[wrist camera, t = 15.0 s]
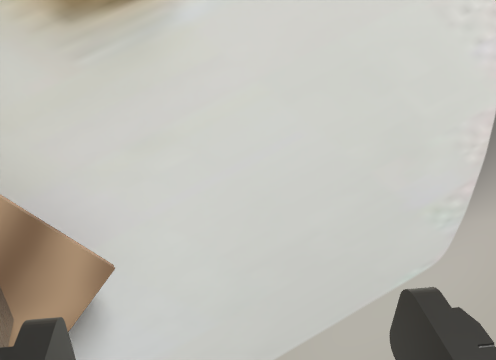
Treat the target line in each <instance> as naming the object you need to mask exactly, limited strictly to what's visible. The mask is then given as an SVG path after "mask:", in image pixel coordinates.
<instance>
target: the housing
mask: <svg viewBox="0 0 496 360" xmlns="http://www.w3.org/2000/svg"><path fill="white" fill-rule="evenodd" d="M13 322H14V318H13V316H12V313H11V311H10V308H9V306H8V304H7V301H6V299H5V297H4V294H3V292H2V289H1V287H0V348H1V347H8V345H9V341H10V336H11V331H12V326H13Z"/></svg>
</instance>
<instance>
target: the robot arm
mask: <svg viewBox="0 0 496 360" xmlns="http://www.w3.org/2000/svg"><path fill="white" fill-rule="evenodd" d="M390 344H391V349H392V352H393V355H394V357H395V359H396V360H496V347H495V346H494V342H493V341H492V339H491V338H490V337H489V335H488V334H487V333H486V331H485V330H484V329H483V327H482V326H481V324H480V323H478V322H477V321H476V320H475V319H474V318H472V317H471V316H470V315H468V314H467V313H466V312H465V311H463V310H462V309H461V308H459V307H458V308H451V306H450V305H449V304H448V302H447V300H446V299H445V298H444V296H443V295H442V293H441V292H440V291H439V290H438V289H437V288H434V287H429V288H418V289H405V290H403V291H402V292H401V294H400V298H399V301H398V305H397V308H396V311H395V315H394V318H393V322H392V326H391V329H390ZM0 360H76V359H75V356H74V352H73V348H72V345H71V341H70V338H69V334H68V331H67V327H66V324H65V321H64V319H63V318H62V317H55V318H43V319H31V320H26V321H25V322H24V323H23V324H22V326H21V328H20V331H19V333H18V336H17V338H16V341H15V344H14V346H12V347H1V348H0Z"/></svg>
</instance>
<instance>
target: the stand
mask: <svg viewBox="0 0 496 360" xmlns="http://www.w3.org/2000/svg"><path fill="white" fill-rule="evenodd" d="M114 269H115V267H114V266H113V264H111V263H110V262H108V261H106V260H105V259H103V258H102V257H100V256H98V255H97V254H95V253H94V252H92V251H90V250H89V249H87V248H86V247H84V246H82V245H81V244H79V243H77V242H76V241H74V240H73V239H71V238H69V237H68V236H66V235H65V234H63V233H61V232H60V231H58V230H57V229H55V228H53V227H52V226H50V225H49V224H47V223H45V222H44V221H42V220H40V219H39V218H37V217H36V216H34V215H32V214H31V213H29V212H28V211H26V210H24V209H23V208H21V207H20V206H18V205H16V204H15V203H13V202H12V201H10V200H8V199H7V198H5V197H3V196H2V195H0V287H1V289H2V292H3V294H4V297H5V299H6V301H7V304H8V306H9V308H10V311H11V313H12V316H13V318H14V322H13V326H12V331H11V336H10V341H9V345H8V347H12V346H14V344H15V341H16V338H17V336H18V333H19V331H20V328H21V326H22V324H23V323H24V322H25V321H26V320H31V319H43V318H55V317H62V318H63V319H64V321H65V324H66V327H67V331H68V332H69V330H70V329H71V328H72V326H73V325H74V324H75V322H76V321H77V320H78V318H79V317H80V315H81V314H82V313H83V311H84V310H85V309H86V307H87V306H88V305H89V303H90V302H91V301H92V299H93V298H94V296H95V295H96V294H97V292H98V291H99V290H100V288H101V287H102V286H103V284H104V283H105V282H106V280H107V279H108V277H109V276H110V275H111V273H112V272H113V271H114Z"/></svg>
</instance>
